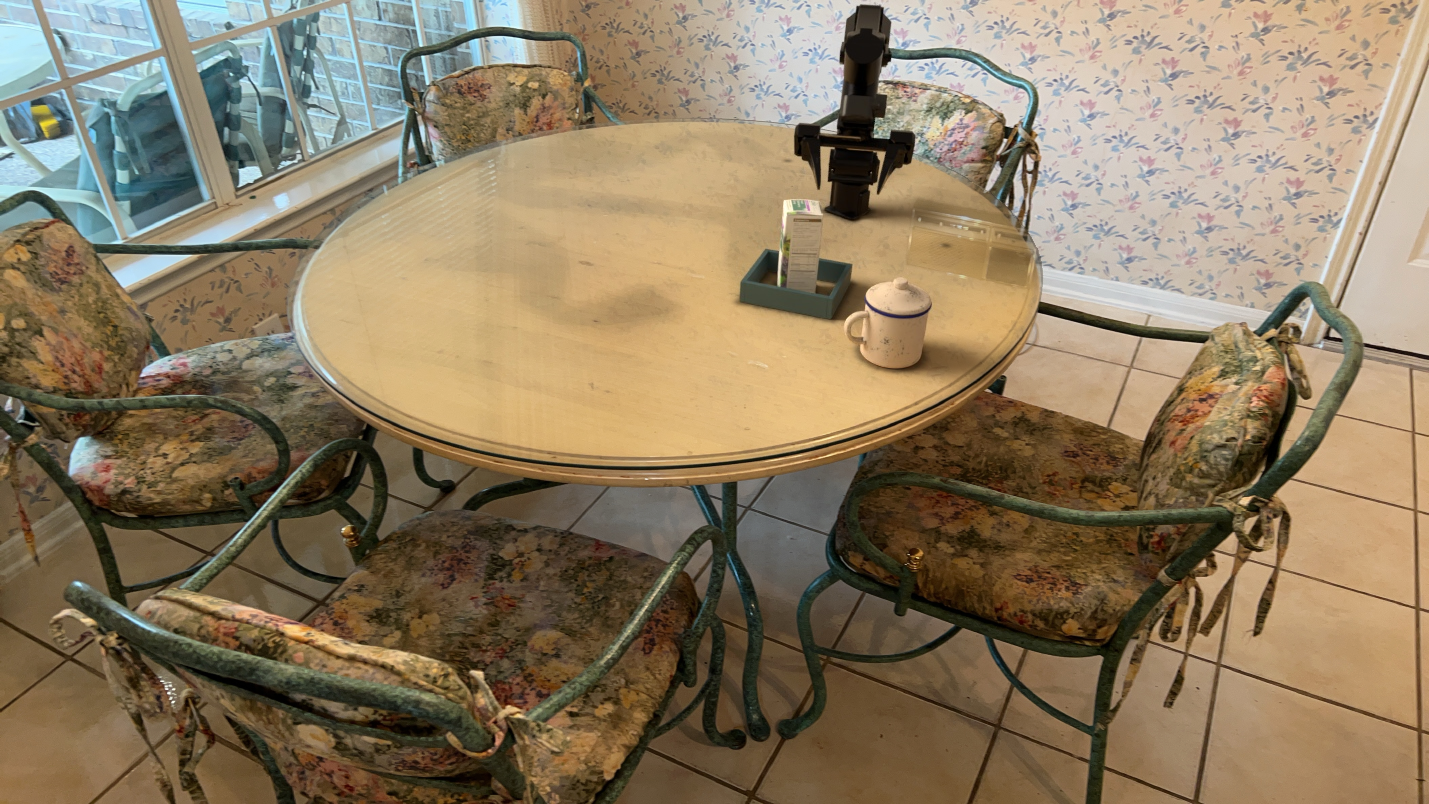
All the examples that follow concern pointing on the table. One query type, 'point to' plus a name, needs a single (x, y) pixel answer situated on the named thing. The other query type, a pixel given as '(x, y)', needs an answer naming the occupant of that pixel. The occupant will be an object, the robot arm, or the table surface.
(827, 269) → the teal square frame
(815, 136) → the robot arm
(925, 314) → the teacup with lid
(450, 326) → the table surface
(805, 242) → the syrup box
